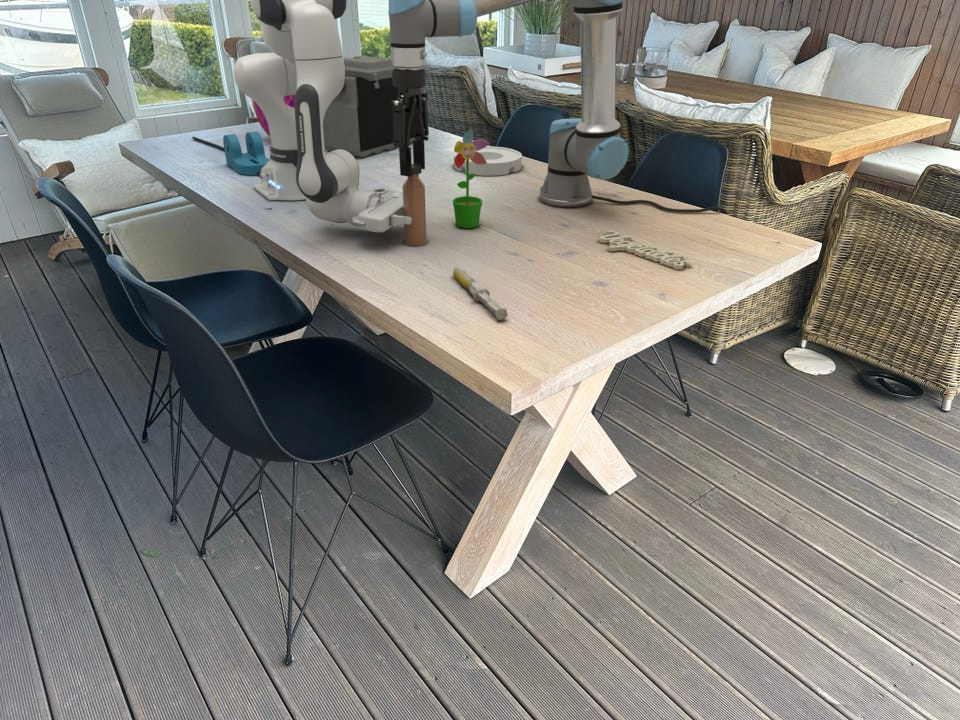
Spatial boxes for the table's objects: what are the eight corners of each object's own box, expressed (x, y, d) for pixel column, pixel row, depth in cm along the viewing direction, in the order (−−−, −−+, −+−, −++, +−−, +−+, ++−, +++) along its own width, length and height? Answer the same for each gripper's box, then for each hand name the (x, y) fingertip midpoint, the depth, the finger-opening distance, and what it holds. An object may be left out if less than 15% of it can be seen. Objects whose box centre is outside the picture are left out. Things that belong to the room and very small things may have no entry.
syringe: (449, 274, 155) (449, 263, 153) (465, 272, 156) (464, 260, 154) (490, 323, 135) (491, 310, 133) (508, 319, 136) (508, 307, 134)
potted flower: (459, 231, 179) (458, 133, 166) (446, 222, 185) (444, 126, 172) (490, 226, 182) (492, 129, 170) (477, 217, 188) (478, 123, 176)
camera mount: (227, 164, 233) (221, 132, 227) (257, 160, 238) (252, 129, 233) (244, 176, 220) (239, 143, 215) (276, 172, 225) (271, 139, 220)
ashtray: (455, 157, 245) (455, 145, 243) (520, 158, 244) (521, 146, 242) (451, 174, 225) (451, 162, 223) (522, 176, 224) (522, 164, 222)
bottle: (430, 241, 173) (428, 167, 164) (417, 247, 169) (414, 172, 160) (414, 236, 176) (411, 164, 166) (400, 242, 172) (396, 169, 162)
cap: (408, 175, 161) (407, 168, 160) (402, 171, 164) (401, 164, 164) (423, 174, 163) (423, 167, 162) (417, 169, 166) (417, 162, 165)
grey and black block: (383, 133, 276) (378, 52, 261) (425, 141, 265) (422, 56, 250) (314, 150, 251) (304, 61, 235) (358, 160, 240) (350, 67, 224)
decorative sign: (585, 238, 173) (610, 229, 179) (584, 241, 173) (610, 233, 179) (673, 269, 156) (698, 259, 162) (672, 273, 156) (697, 262, 162)
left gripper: (346, 209, 163) (398, 216, 159) (385, 186, 179) (434, 192, 175) (348, 234, 166) (400, 242, 162) (386, 209, 183) (434, 216, 179)
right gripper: (403, 74, 143) (408, 184, 155) (442, 63, 158) (443, 164, 170) (372, 72, 145) (379, 180, 157) (413, 61, 161) (416, 160, 172)
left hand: (418, 216), depth 169 cm, fingers closed on bottle, 5 cm apart
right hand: (412, 171), depth 164 cm, fingers open, 6 cm apart
